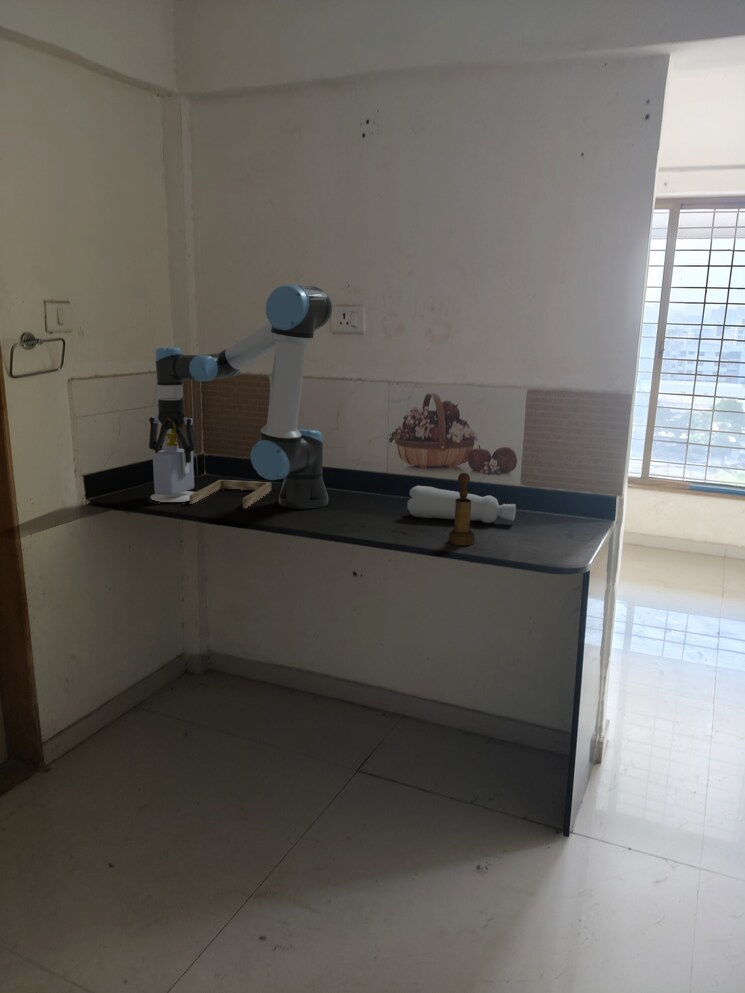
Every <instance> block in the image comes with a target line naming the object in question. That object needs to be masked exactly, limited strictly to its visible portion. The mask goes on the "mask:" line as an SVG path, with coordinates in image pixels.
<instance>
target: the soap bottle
mask: <svg viewBox="0 0 745 993" xmlns="http://www.w3.org/2000/svg"><path fill="white" fill-rule="evenodd" d="M166 419H168V420H170V421H171V419H169V418H166ZM173 424H174V429H173V432H170V433H167V434H165V435H166V437H167V439H169V442H167V443H166V450H164V451H163V452H159V453H153V454H152V466H153V485H154V487H153V488H154V494H162V495H171V496H172V495H175V494H178V493H181V492H184V491H190V490H192V489H195V470H194V450H193V451H191V462H190V463H189V472H188V473H186V474H183V459H182V453H183V452H185V451H184V449H183V448H179V442H176V439H177V438H178V434H177V432H176V431H175V423H174V422H173ZM180 428H181V426H180ZM180 428H179V429H180Z"/></svg>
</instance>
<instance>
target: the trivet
mask: <svg viewBox="0 0 745 993" xmlns="http://www.w3.org/2000/svg"><path fill="white" fill-rule="evenodd" d="M195 492H196V491H190V490H187V491H184V492H181V493H178V494H175V495H172V496H171V495H162V494H155V493H153V494H151V495H150V498H151V499H152V500H155V501H159V502H186V501H190V499H189V495H191V494H193V493H195ZM150 498H149V499H150ZM151 499H150V500H151Z"/></svg>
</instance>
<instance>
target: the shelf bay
mask: <svg viewBox="0 0 745 993" xmlns="http://www.w3.org/2000/svg"><path fill="white" fill-rule="evenodd" d="M221 488H227V489H241V490H240V491H243V490H255V491H251V493H249V494H247V495H246V496H244V497H242V509H247V508H249V507H251V506H252V505H253V504H255V503H256V502H258V501H259V500H261V499H262V498H264V497H266V496H267V495H268V494H270V493H271V492H270V491H273V490H272V489H273V488H272V482H271V481H270V482H269V481H268V482H266V481H252V480H251V481H249V480H248V481H247V480H233V479H232V480H229V479H218V480H216V481H215V482H213V483H211V484H209V485H207V486H205V487H203V488H201V489H199V490H197V491H194V492H195V493H193V494H191V495H189V499H190V502H189V505H190V504H193V503H195V502H198V501H199V500H201V499H203V498H205V497H207V496H209V495H210V494H212V493H214V492H216V491H218V490H219V489H221ZM221 490H222V489H221ZM218 492H219V491H218ZM269 492H270V493H269ZM216 493H217V492H216ZM267 493H268V494H267ZM214 494H215V493H214ZM266 494H267V495H266ZM212 495H213V494H212ZM263 496H264V497H263ZM209 497H210V496H209ZM207 498H208V497H207ZM260 498H261V499H260ZM205 499H206V498H205ZM203 500H204V499H203ZM257 500H258V501H257ZM201 501H202V500H201ZM254 502H255V503H254ZM198 503H199V502H198ZM251 504H252V505H251ZM248 506H249V507H248Z"/></svg>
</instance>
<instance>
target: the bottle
mask: <svg viewBox="0 0 745 993" xmlns="http://www.w3.org/2000/svg"><path fill="white" fill-rule="evenodd" d="M408 492H409V496H410V497H411V498H410V499H409V500H407V510H408V511H409V514H410V515H411V516H413V517H415V518H424V519H441V520H442V519H444V520H445V519H446V520H455V502H456V499H458V498H460V494H459V491H455V490H447V489H441V488H436V487H433V486H425V485H416V486H413V487H411V488H410V490H409V491H408ZM466 499H469V500H471V513H470V522H471V521H472V522H473V521H481V522H482V523H485V524H491V523H494V522H495V521H496V519H497V517H500V518H502V520H503V519H504V520H510V521H514V520H515V518H516V512H517V511H516V510H517V505H516V504H517V503H516V504H515V503H509V504H508V503H506V504H505V503H503V504H501V505H499V501H498V499H497V497H494V496H492V495H485V496H480V495H477V494H474V493H468V495H467V498H466Z"/></svg>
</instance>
